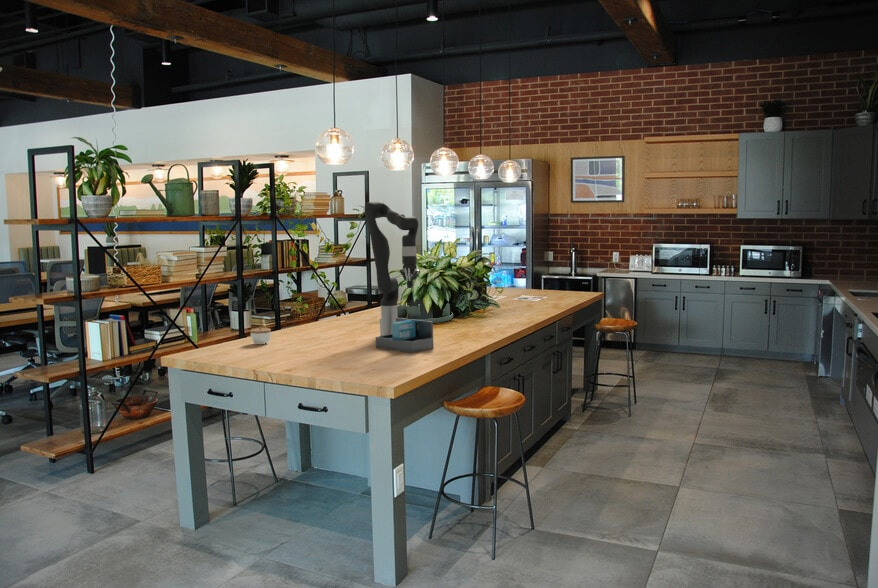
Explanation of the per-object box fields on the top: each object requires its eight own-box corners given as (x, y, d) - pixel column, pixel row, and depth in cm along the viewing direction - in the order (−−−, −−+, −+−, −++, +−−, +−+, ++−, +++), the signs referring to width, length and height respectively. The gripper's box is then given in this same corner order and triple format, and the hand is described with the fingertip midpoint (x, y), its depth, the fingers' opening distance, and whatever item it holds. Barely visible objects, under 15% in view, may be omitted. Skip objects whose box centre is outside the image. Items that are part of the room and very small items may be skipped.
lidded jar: (266, 345, 370) (265, 328, 369) (247, 345, 372) (246, 328, 371) (274, 342, 381) (274, 325, 380) (256, 341, 383) (255, 325, 382)
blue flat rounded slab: (398, 347, 350) (397, 323, 349) (392, 346, 353) (391, 322, 352) (416, 343, 358) (415, 320, 357) (410, 342, 362) (409, 319, 360)
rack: (376, 347, 358) (375, 321, 356) (397, 342, 370) (397, 317, 368) (412, 353, 342) (411, 326, 340) (433, 348, 354) (432, 321, 352)
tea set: (440, 313, 475) (440, 289, 473) (461, 321, 438) (460, 295, 436) (384, 317, 463) (383, 293, 461) (400, 326, 425) (399, 299, 423)
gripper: (395, 255, 368) (396, 287, 370) (413, 255, 359) (414, 289, 361) (404, 254, 373) (405, 286, 375) (423, 254, 365) (424, 287, 367)
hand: (410, 287), depth 368 cm, fingers closed
